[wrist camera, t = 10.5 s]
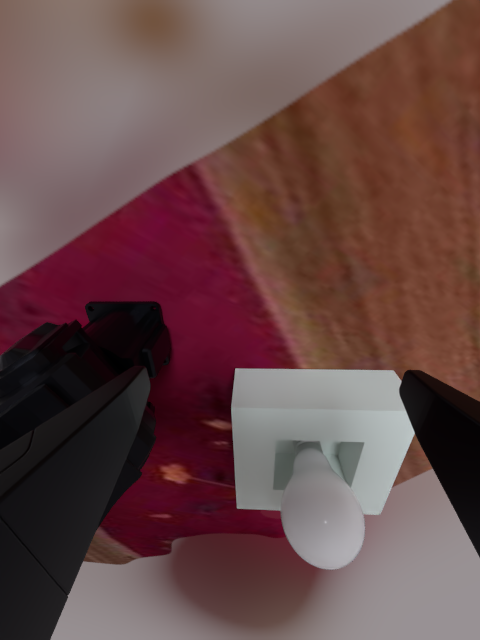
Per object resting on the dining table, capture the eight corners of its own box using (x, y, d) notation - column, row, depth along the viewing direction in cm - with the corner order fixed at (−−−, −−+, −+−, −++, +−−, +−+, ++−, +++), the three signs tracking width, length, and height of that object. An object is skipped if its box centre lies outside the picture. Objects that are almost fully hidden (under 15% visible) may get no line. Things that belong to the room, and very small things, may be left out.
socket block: (239, 464, 32) (236, 508, 28) (235, 368, 25) (231, 407, 21) (362, 468, 31) (380, 514, 27) (393, 370, 24) (423, 411, 20)
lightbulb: (337, 408, 26) (387, 545, 16) (332, 450, 29) (372, 586, 19) (273, 410, 26) (283, 543, 17) (275, 450, 29) (285, 584, 20)
